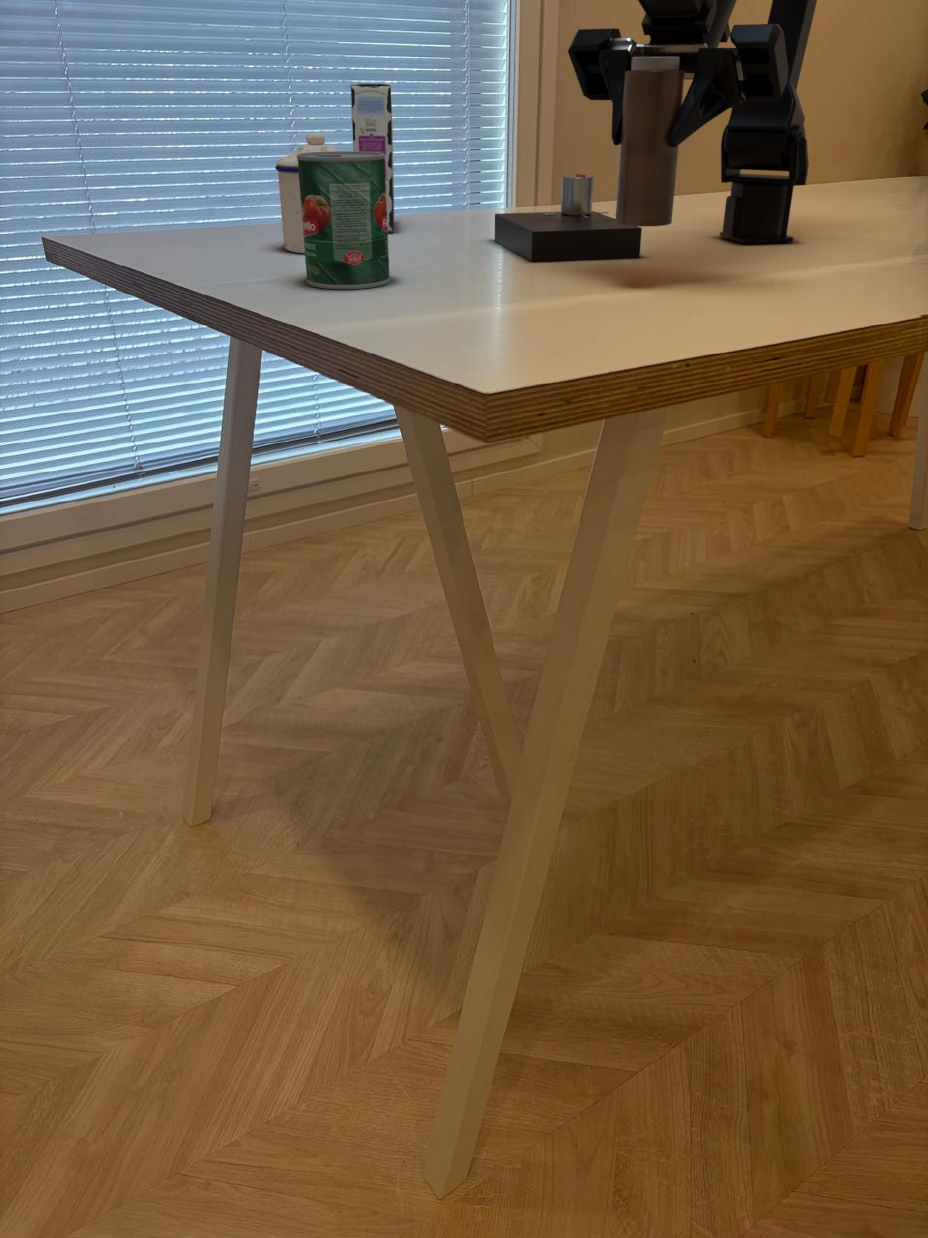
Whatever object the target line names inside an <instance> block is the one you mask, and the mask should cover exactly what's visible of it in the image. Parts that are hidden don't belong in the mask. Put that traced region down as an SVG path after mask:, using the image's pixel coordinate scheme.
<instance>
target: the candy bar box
mask: <svg viewBox="0 0 928 1238" xmlns="http://www.w3.org/2000/svg"><path fill="white" fill-rule="evenodd" d="M349 88H350V105H351V106H350V107H351V110H350V111H351V123H352V124H351V125H352V126H351V128H352V129H351V130H352V151H363V152H379V153H384V154H385V175H386V179H385V182H386V203H387V223H388V225H387V230H388V233H394V231H395V191H394V189H395V183H394V181H395V180H394V176H395V175H394V173H395V172H394V135H393V132H394V131H393V103H392V86H391V84H387V83H352V84H350V87H349Z"/></svg>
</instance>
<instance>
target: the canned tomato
mask: <svg viewBox="0 0 928 1238" xmlns="http://www.w3.org/2000/svg"><path fill="white" fill-rule="evenodd" d="M297 159H298V171H299V183H300V187H299V188H300V198H301V209H302V221H303V224H302V225H303V236H304V247H305V253H304V259H305V262H304V263H305V270H306V284H307V285H309V286H311V287H315V288H319V289H329V290H361V289H362V290H363V289H371V288H377V287H382V286H385V285H387V284H389V283H390V282H391V277H390V255H389V252H390V251H389V232H388V230H387V225H388V223H387V203H386V182H385V179H386V175H385V154H384V153H379V152H363V151H353V150H347V151H346V150H339V151H327V152H308V153H300V154H297Z"/></svg>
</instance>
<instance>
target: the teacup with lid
mask: <svg viewBox="0 0 928 1238" xmlns="http://www.w3.org/2000/svg"><path fill="white" fill-rule="evenodd" d="M305 142H306V144H303V145H300V146H298V147H297V148H296V149H294V150H293V151H292V152H291V153H289V154H288V155H286V156H283V157H281V158H278V159H277V161H276V163H275V164H276V165H275V167H274V168H275V170H276V171H277V177H278V178H277V179H278V188H279V189H278V191H279V201H280V213H281V224H282V238H283V247H284V249H286V250H287V251H289V252H292V253H297V254H305V247H304V236H303V225H302V224H303V221H302V209H301V198H300V188H299V187H300V183H299V171H298V159H297V154H300V153H308V152H327V151H340V150H339V149H338V148H337V147H335V146H333V145H331V144H325V143H326V137H325V135H324V133H323V134H322V133H309V134H307V135H306V137H305Z"/></svg>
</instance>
